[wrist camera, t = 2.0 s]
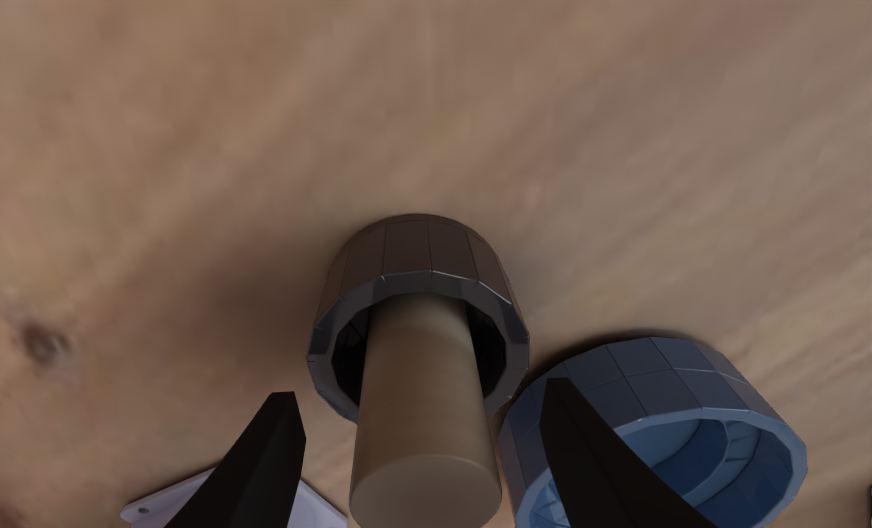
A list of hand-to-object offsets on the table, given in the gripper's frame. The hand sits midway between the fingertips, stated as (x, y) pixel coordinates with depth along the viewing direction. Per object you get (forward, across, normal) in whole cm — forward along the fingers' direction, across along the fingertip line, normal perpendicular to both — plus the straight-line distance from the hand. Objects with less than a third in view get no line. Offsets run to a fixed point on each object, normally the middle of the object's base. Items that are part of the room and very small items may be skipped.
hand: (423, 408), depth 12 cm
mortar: (+6, 0, 0) cm, 6 cm away
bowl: (+6, -10, +8) cm, 14 cm away
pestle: (+5, 0, 0) cm, 5 cm away
